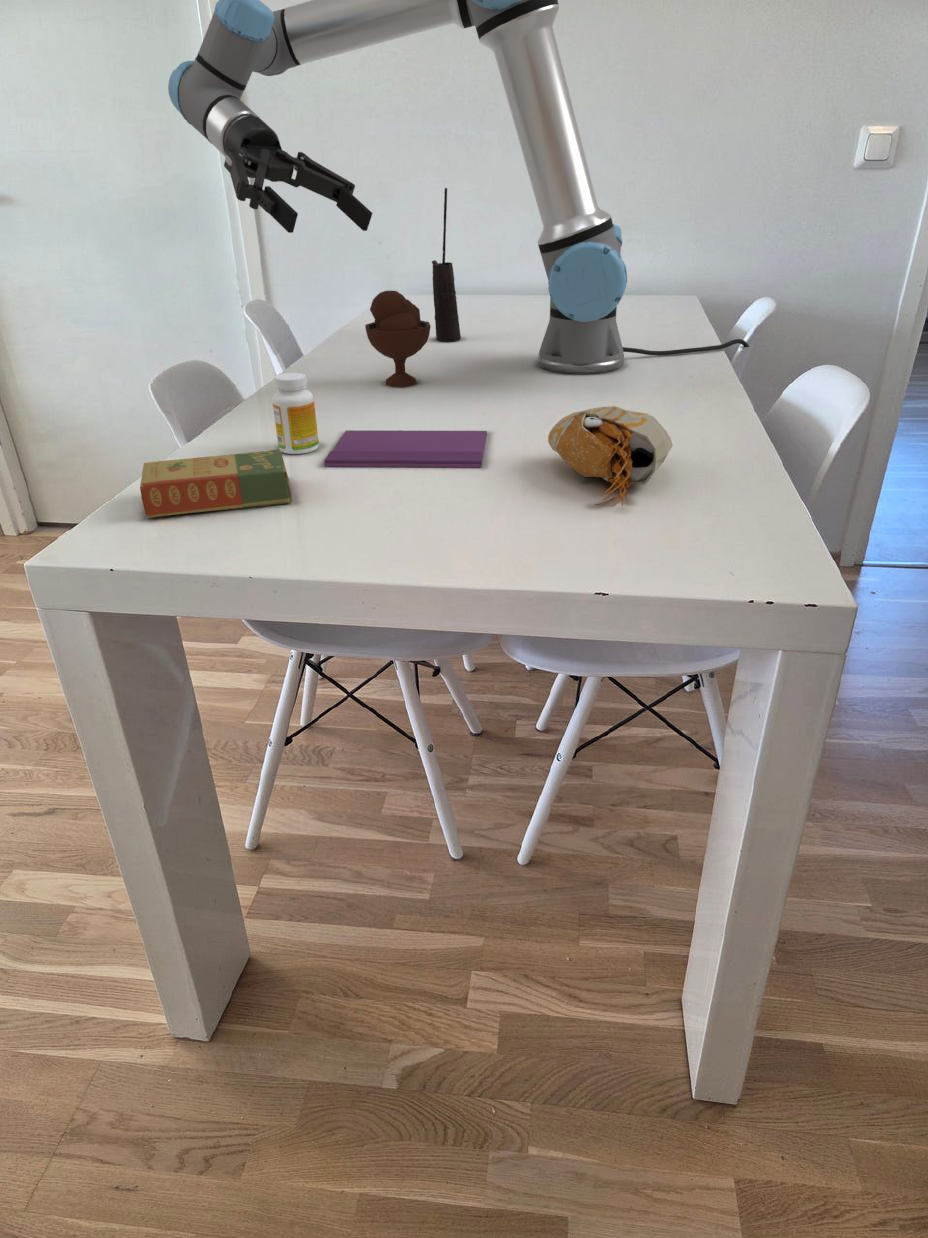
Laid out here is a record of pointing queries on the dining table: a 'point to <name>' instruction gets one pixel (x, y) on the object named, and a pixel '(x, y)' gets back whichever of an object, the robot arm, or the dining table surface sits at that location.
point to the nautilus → (612, 446)
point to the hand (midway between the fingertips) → (332, 222)
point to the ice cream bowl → (397, 333)
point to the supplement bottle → (294, 414)
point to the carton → (214, 483)
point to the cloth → (408, 449)
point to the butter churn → (445, 295)
